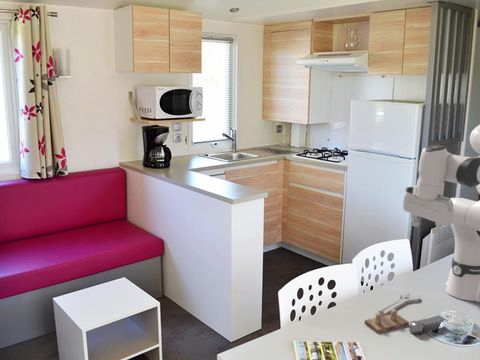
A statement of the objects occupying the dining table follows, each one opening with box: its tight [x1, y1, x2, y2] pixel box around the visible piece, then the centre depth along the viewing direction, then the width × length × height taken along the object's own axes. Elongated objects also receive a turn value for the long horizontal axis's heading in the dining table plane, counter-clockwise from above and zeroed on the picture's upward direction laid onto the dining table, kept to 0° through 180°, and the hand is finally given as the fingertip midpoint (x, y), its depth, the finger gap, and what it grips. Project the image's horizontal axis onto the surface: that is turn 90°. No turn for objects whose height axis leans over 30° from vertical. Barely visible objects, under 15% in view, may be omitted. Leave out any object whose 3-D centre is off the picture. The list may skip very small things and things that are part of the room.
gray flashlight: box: [409, 315, 447, 336], centre depth 163 cm, size 14×4×3 cm, turn 114°
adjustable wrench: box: [377, 292, 421, 316], centre depth 181 cm, size 25×6×2 cm, turn 126°
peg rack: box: [364, 309, 410, 334], centre depth 166 cm, size 14×7×5 cm, turn 114°
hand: (425, 230), depth 165 cm, fingers open, 8 cm apart
